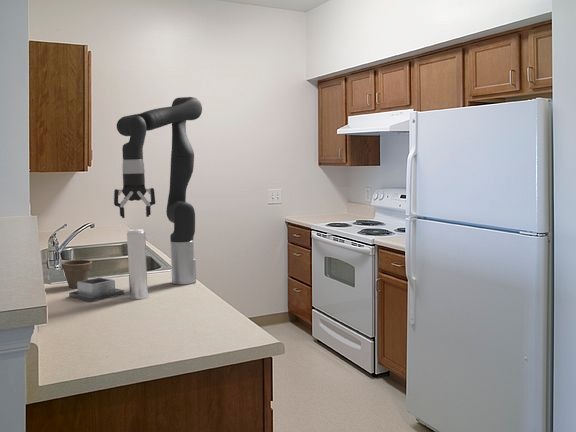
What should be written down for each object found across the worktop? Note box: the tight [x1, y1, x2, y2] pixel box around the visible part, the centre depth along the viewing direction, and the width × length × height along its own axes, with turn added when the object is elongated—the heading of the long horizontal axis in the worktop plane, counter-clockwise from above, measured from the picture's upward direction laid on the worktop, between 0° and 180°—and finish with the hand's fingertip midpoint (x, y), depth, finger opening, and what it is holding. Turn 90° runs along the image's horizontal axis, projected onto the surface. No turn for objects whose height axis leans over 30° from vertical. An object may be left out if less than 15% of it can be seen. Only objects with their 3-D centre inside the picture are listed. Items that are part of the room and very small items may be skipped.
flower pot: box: [61, 259, 93, 289], centre depth 216 cm, size 12×11×10 cm
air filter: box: [126, 228, 149, 300], centre depth 196 cm, size 6×6×25 cm
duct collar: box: [68, 276, 125, 303], centre depth 201 cm, size 14×14×6 cm
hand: (135, 217), depth 195 cm, fingers open, 8 cm apart
